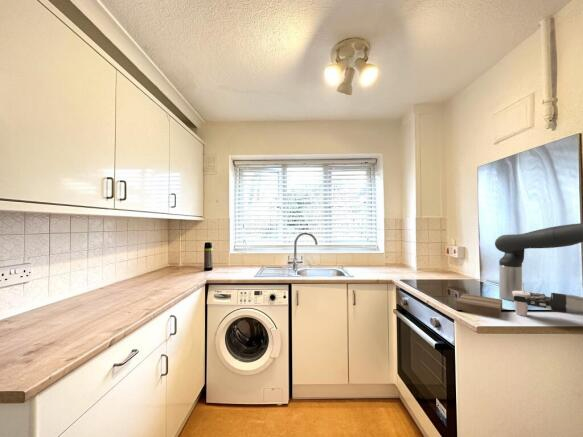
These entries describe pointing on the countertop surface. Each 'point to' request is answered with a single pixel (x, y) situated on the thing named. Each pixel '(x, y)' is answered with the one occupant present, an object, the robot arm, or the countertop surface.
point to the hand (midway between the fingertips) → (514, 296)
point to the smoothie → (521, 307)
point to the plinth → (479, 305)
